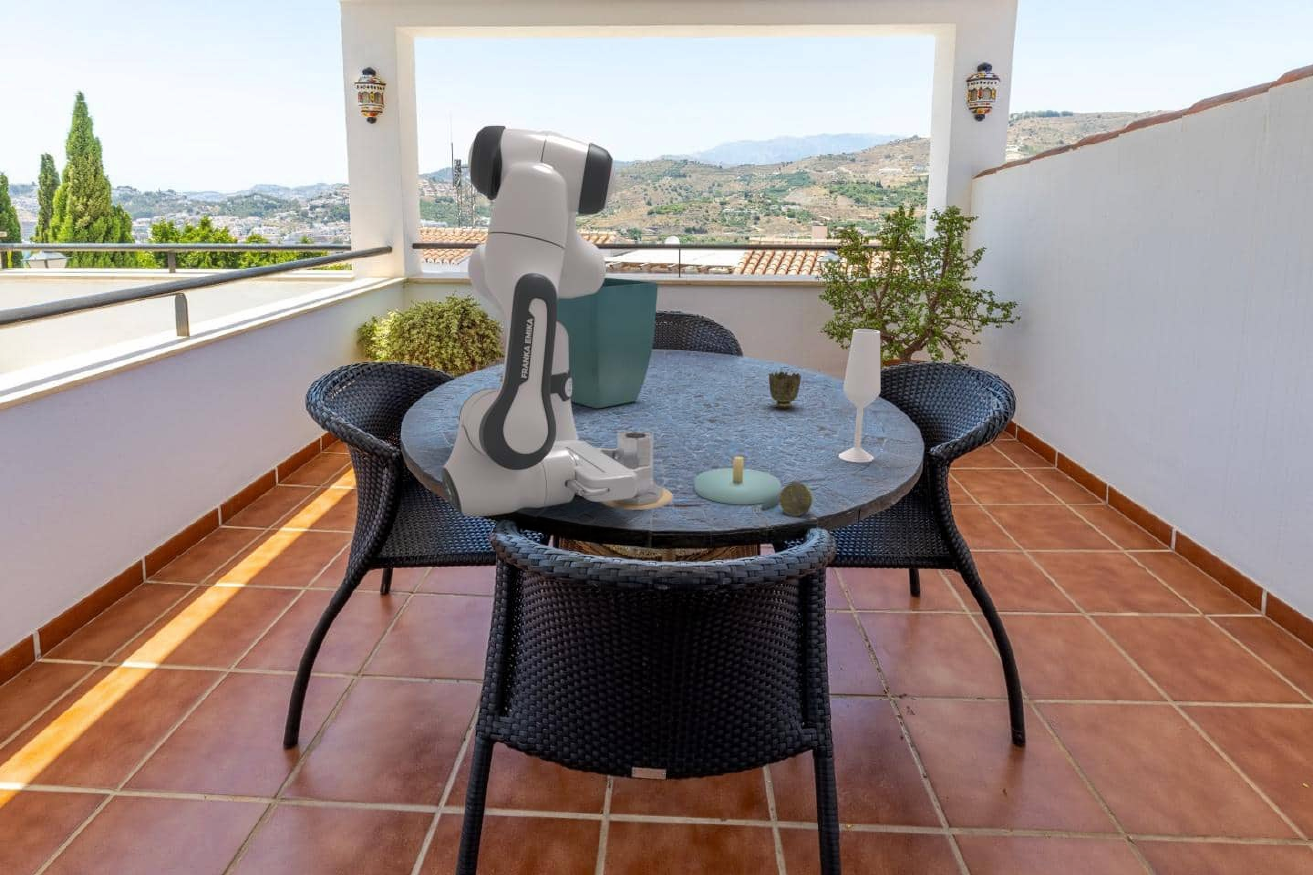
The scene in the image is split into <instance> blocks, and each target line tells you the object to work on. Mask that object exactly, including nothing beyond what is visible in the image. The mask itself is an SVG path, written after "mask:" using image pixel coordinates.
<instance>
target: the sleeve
mask: <svg viewBox="0 0 1313 875" xmlns="http://www.w3.org/2000/svg"><path fill="white" fill-rule="evenodd" d="M617 448H618V463H620V464H622V465H623V466H625V467H626V468H628V469H633V470H634V469H636V468H638V466H640V465H648V466H650V467H652V468H653V469H654V434H653V433H650V432H648V431H641V430H629V431H628V430H627V431H623V432H622V431H621V432H620V433H619V434H618V435H617ZM663 488H664V487H662V486H661V485H659V484H658V483H655V482H654V475H653V476H652V477H651V478H649V479H643V480H642V481H640V482H638V483H637V494H636V495H635V496H634V497H632V498H629V499H622V500H613V501H614V502H616V503H617V504H626V505H635V506H640V505H645V504H650V503H656V502H658V501H659V500H660V498H661V497H662V496H663Z"/></svg>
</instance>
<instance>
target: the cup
mask: <svg viewBox="0 0 1313 875" xmlns="http://www.w3.org/2000/svg"><path fill="white" fill-rule="evenodd" d="M801 380H802V375H801V374H800V373H799V372H797V373H795V372H793V373H792V374H788V372H787V371H786V372H784V371H783V370H781V371H779V372H777V371H774V373H773V372H770V373H768V381H769V382H768V383H769V392H770V396H771V398H772V399H773V400H774V401H776V402H775V407H776V408H777V409H781V410H787V409H790V408H791V407H792V402H793V401H794V400H796V399H797V397H798V394H799V390H800V385H801Z"/></svg>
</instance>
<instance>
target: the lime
mask: <svg viewBox="0 0 1313 875" xmlns="http://www.w3.org/2000/svg"><path fill="white" fill-rule="evenodd" d="M812 494H813V493H812V491H811V490H810V489H809V487H808V486H807V485H806V484H804V483H801V482H797V481H794V482H790V483H789V484H787V485H785V486H784V487H783V489H782V490H781V494H780V501H779V504H780V507H781V509H782V510H783V512H784V513H785V514H787V515H788V516H792V517H797V516H801V515H804V514H807V513H808V512H809V510H810V509H811V507H812V505H813V495H812Z"/></svg>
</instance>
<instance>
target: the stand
mask: <svg viewBox="0 0 1313 875" xmlns="http://www.w3.org/2000/svg"><path fill="white" fill-rule="evenodd" d="M662 488H663V496H662V497H661V498H660V500H659V501H658V502H656V503H650V504H645V505H640V506H635V505H626V504H617V503H616V502H614V501H602V502H600V503H601V504H603V505H605V506H608V507H611V508H615V509H620V510H621V509H622V510H629V511H630V510H631V511H632V510H633V511H640V510H641V511H642V510H651V509H656V508H660V507H663V506H666V505H668V504H669V503H671V502H672V501H673V499H674V495H673V493H672V492H671V491H670V490H668V489H666V488H664V487H662Z"/></svg>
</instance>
